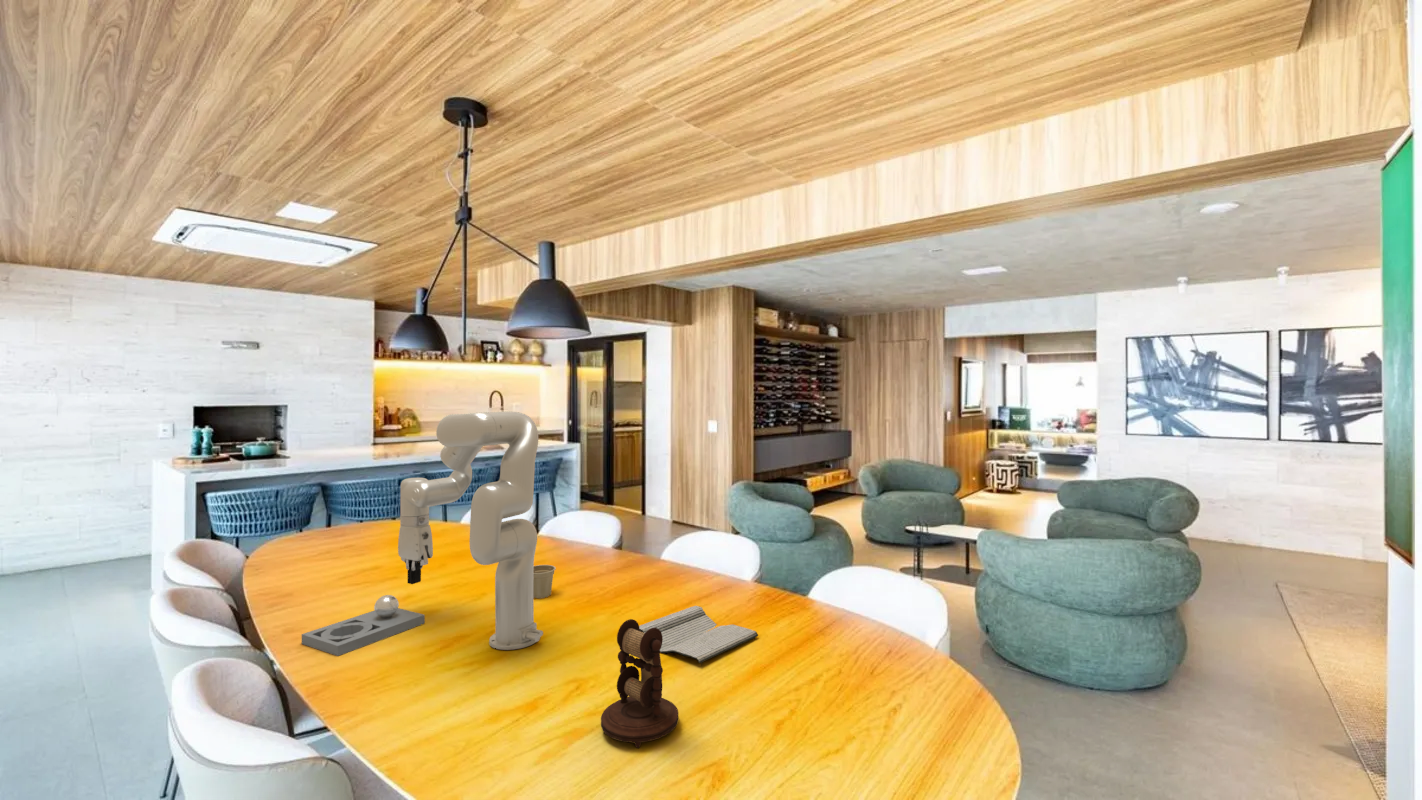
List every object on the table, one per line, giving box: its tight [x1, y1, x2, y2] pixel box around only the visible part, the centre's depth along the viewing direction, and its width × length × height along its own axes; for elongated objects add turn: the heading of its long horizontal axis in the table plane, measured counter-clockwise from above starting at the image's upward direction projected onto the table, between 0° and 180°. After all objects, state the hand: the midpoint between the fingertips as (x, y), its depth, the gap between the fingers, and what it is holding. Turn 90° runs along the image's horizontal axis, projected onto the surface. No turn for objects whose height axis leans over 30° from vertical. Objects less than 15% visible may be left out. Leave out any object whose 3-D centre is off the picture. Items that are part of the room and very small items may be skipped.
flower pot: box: [533, 564, 557, 599], centre depth 192 cm, size 9×9×9 cm
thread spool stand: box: [600, 618, 679, 749], centre depth 115 cm, size 15×15×20 cm
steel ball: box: [373, 594, 399, 618], centre depth 167 cm, size 6×6×6 cm
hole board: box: [301, 607, 425, 657], centre depth 162 cm, size 16×24×2 cm, turn 152°
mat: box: [639, 605, 759, 667], centre depth 156 cm, size 23×24×5 cm
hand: (414, 582), depth 176 cm, fingers closed
